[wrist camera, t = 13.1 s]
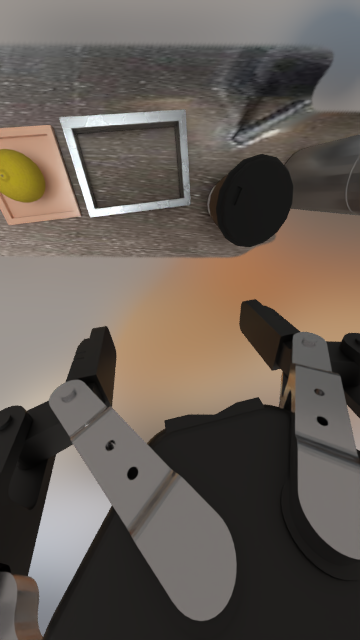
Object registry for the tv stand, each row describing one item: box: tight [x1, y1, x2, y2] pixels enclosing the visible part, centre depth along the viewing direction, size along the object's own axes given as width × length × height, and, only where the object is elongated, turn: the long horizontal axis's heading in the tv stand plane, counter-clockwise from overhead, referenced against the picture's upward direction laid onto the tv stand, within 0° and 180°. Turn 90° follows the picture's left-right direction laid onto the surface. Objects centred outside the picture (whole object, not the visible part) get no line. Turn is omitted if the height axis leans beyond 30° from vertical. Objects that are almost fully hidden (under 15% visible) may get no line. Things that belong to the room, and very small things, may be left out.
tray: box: [0, 125, 82, 225], centre depth 28 cm, size 11×11×1 cm
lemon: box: [0, 149, 45, 203], centre depth 25 cm, size 6×6×8 cm
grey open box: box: [59, 110, 191, 217], centre depth 30 cm, size 16×11×3 cm
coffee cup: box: [207, 154, 293, 247], centre depth 31 cm, size 11×11×12 cm
